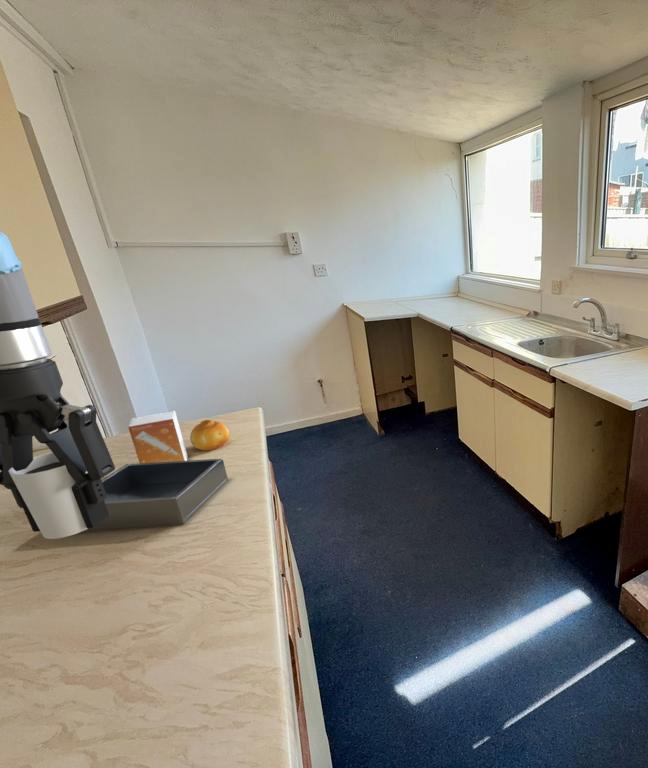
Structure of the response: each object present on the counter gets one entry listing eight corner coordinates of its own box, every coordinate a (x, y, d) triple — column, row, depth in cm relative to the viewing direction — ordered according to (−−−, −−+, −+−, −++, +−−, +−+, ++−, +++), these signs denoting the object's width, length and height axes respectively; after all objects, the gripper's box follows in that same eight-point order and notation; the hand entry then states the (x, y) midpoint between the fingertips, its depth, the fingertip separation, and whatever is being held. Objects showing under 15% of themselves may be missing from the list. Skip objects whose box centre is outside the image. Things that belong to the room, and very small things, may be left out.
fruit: (211, 448, 101) (214, 417, 103) (180, 451, 101) (183, 420, 103) (234, 450, 109) (236, 421, 111) (205, 452, 109) (208, 423, 111)
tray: (70, 534, 74) (58, 506, 72) (134, 487, 89) (126, 464, 87) (184, 525, 76) (176, 498, 74) (228, 481, 91) (222, 458, 89)
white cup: (90, 505, 59) (67, 446, 56) (117, 516, 57) (95, 454, 54) (26, 533, 53) (-4, 468, 50) (53, 546, 51) (24, 479, 48)
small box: (143, 477, 93) (126, 426, 89) (147, 466, 98) (131, 417, 93) (187, 466, 97) (173, 418, 93) (188, 456, 102) (175, 410, 98)
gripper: (-128, 374, 43) (-38, 547, 50) (66, 370, 45) (125, 536, 53) (-46, 356, 50) (23, 511, 57) (119, 354, 52) (165, 503, 60)
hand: (72, 523), depth 55 cm, fingers closed on white cup, 6 cm apart
